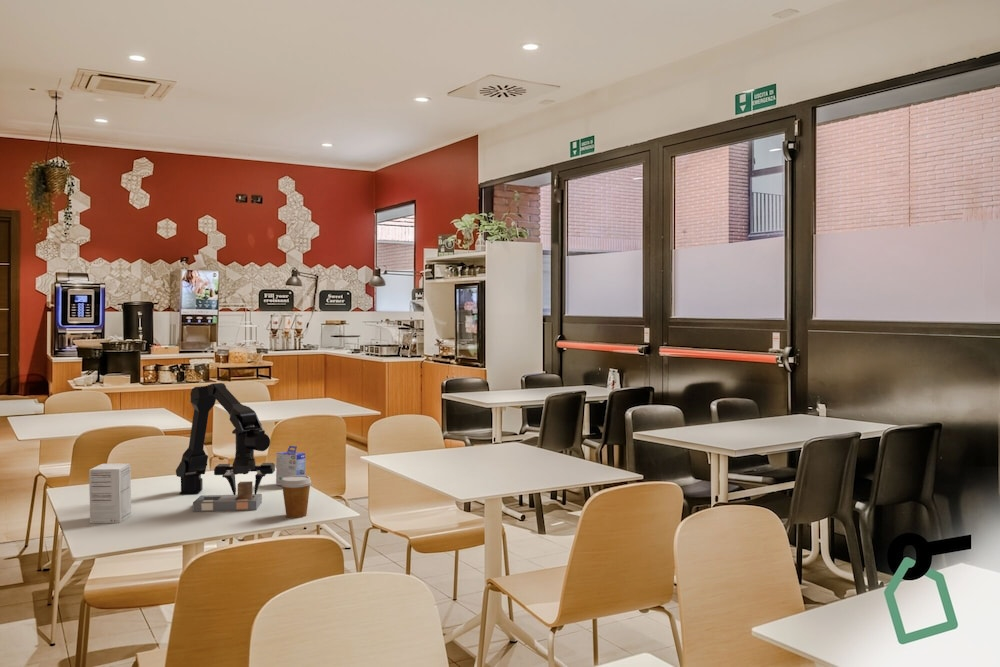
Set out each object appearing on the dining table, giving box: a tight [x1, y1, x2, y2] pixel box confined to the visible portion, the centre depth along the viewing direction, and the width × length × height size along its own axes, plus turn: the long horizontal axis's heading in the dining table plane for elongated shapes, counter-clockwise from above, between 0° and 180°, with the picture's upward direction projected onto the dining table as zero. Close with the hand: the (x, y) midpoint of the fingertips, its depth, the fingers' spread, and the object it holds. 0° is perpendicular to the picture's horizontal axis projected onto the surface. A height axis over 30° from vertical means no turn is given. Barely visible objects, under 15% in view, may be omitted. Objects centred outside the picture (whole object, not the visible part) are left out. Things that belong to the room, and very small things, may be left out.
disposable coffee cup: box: [281, 475, 312, 519], centre depth 257 cm, size 10×10×12 cm
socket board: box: [192, 493, 263, 512], centre depth 269 cm, size 20×10×3 cm, turn 97°
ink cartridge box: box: [275, 445, 306, 487], centre depth 302 cm, size 10×6×14 cm, turn 66°
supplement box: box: [88, 463, 132, 524], centre depth 253 cm, size 10×9×17 cm
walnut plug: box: [237, 481, 254, 499], centre depth 269 cm, size 4×4×8 cm
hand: (245, 494), depth 269 cm, fingers open, 6 cm apart
